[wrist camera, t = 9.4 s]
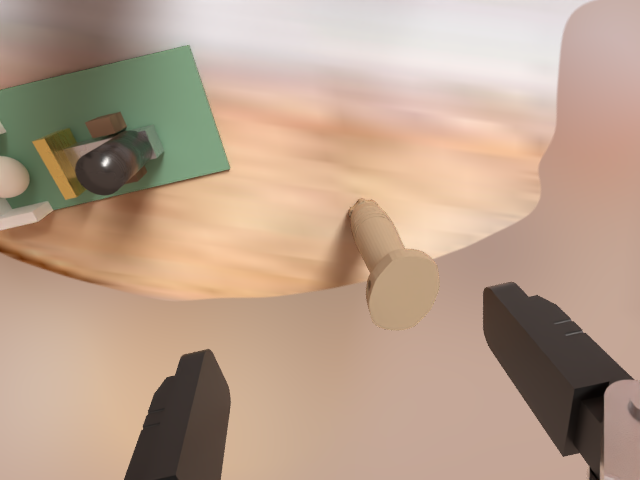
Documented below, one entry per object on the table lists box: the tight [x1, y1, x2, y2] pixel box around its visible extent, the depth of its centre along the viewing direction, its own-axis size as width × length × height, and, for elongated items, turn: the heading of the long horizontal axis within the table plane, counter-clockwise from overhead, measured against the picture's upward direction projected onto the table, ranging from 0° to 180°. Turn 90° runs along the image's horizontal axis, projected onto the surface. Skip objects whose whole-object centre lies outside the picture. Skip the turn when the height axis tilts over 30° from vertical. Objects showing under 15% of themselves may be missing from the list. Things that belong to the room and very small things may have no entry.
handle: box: [349, 198, 440, 330], centre depth 34 cm, size 5×6×15 cm
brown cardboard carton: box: [85, 112, 147, 184], centre depth 33 cm, size 6×2×3 cm, turn 12°
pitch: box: [0, 45, 230, 210], centre depth 34 cm, size 11×22×1 cm, turn 102°
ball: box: [0, 156, 30, 198], centre depth 33 cm, size 4×4×4 cm
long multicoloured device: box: [32, 125, 164, 200], centre depth 30 cm, size 8×5×9 cm, turn 102°
